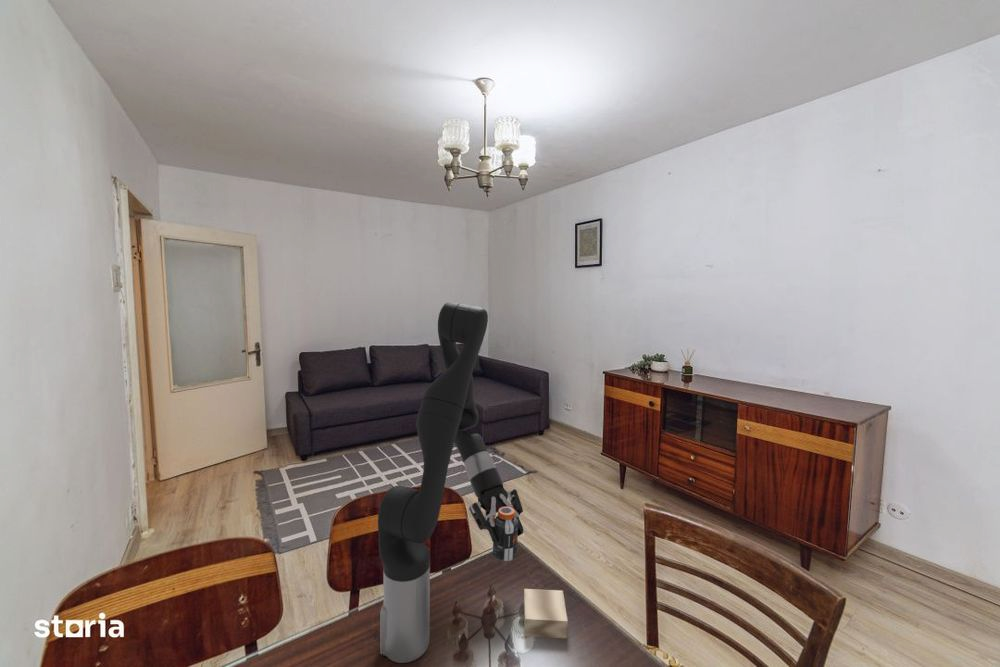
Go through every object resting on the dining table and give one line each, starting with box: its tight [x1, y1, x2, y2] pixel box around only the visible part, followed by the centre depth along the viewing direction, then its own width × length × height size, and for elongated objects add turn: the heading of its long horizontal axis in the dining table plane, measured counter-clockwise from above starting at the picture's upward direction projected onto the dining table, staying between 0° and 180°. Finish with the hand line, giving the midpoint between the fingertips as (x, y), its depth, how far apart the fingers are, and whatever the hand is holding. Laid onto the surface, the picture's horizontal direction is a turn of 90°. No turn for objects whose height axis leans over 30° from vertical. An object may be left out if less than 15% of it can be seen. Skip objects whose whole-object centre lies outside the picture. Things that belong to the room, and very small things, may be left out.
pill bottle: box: [492, 507, 519, 562], centre depth 101 cm, size 6×6×11 cm
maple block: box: [523, 588, 569, 639], centre depth 93 cm, size 9×9×4 cm
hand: (510, 538), depth 99 cm, fingers closed on pill bottle, 6 cm apart
